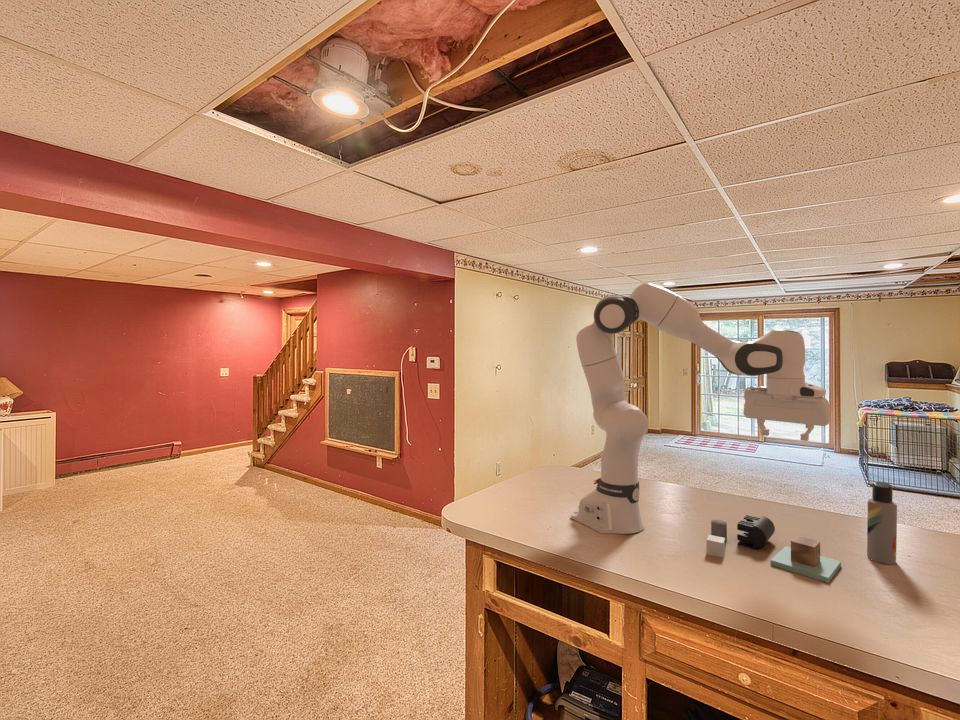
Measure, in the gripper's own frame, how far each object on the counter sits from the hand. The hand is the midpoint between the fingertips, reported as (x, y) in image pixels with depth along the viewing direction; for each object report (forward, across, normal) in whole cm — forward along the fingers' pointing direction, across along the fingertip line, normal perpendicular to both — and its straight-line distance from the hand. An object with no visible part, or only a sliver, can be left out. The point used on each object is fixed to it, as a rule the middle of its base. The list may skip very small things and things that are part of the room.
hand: (784, 437), depth 127 cm
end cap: (+31, -5, -4) cm, 31 cm away
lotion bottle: (+30, +20, +9) cm, 37 cm away
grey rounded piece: (+30, -13, -9) cm, 34 cm away
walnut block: (+29, +8, -9) cm, 31 cm away
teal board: (+30, +8, -9) cm, 32 cm away
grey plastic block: (+30, -10, -19) cm, 37 cm away
